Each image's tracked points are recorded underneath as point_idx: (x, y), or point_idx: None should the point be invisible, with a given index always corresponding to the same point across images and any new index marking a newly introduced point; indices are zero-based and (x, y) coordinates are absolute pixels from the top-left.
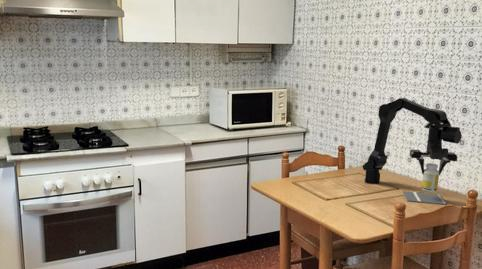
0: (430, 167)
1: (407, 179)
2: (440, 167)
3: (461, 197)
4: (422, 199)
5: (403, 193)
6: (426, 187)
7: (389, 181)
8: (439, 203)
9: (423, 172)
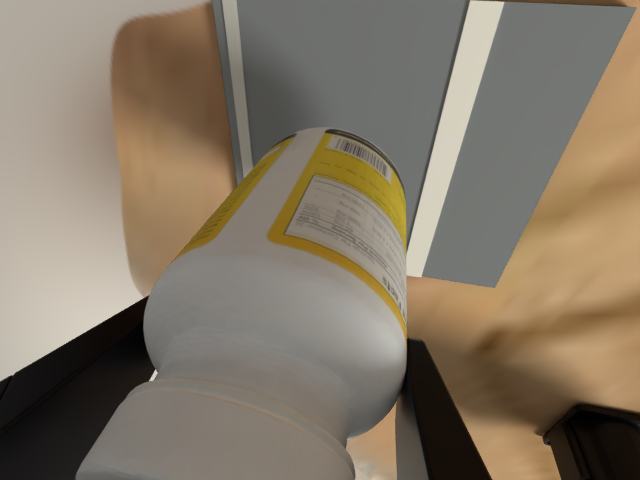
0: (271, 432)
1: None
2: (58, 415)
3: (127, 223)
4: (419, 90)
5: (507, 254)
6: (376, 160)
7: (469, 426)
8: None
9: (412, 356)
